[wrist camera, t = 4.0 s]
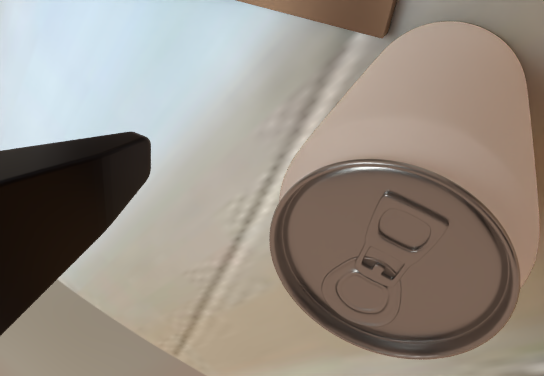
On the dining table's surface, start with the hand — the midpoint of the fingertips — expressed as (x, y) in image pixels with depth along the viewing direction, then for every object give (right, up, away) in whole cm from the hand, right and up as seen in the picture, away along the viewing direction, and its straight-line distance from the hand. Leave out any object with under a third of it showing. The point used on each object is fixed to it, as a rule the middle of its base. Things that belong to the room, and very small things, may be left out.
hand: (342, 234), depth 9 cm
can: (+6, +5, +11) cm, 14 cm away
